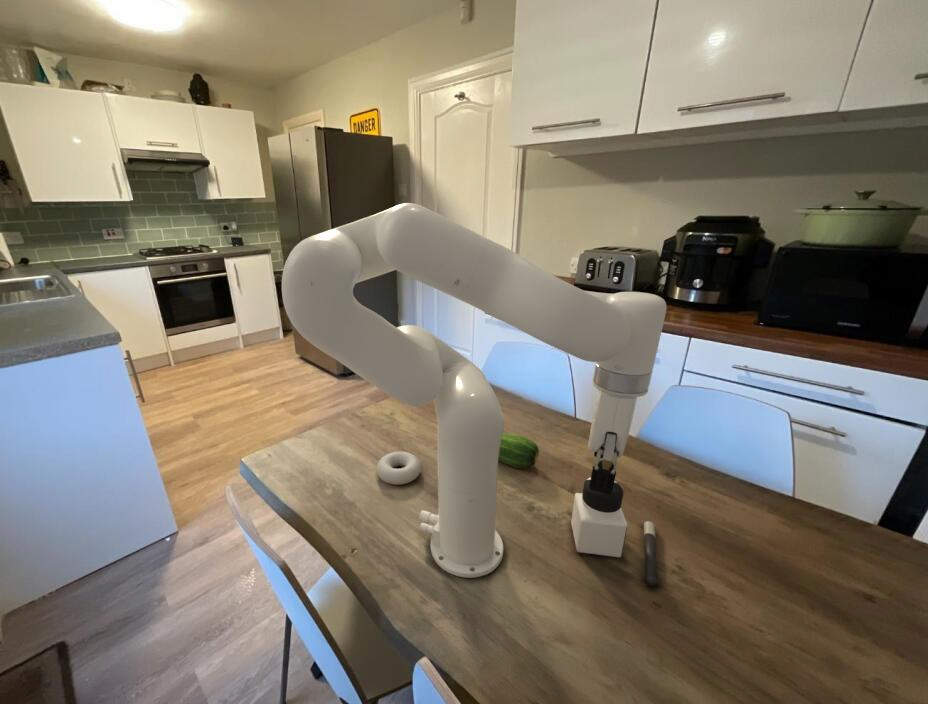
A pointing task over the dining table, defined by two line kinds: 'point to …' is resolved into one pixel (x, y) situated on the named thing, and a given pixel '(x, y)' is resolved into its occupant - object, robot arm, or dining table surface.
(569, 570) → the dining table surface
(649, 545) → the marker
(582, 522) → the white block black top
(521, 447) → the vegetable
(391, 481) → the donut
